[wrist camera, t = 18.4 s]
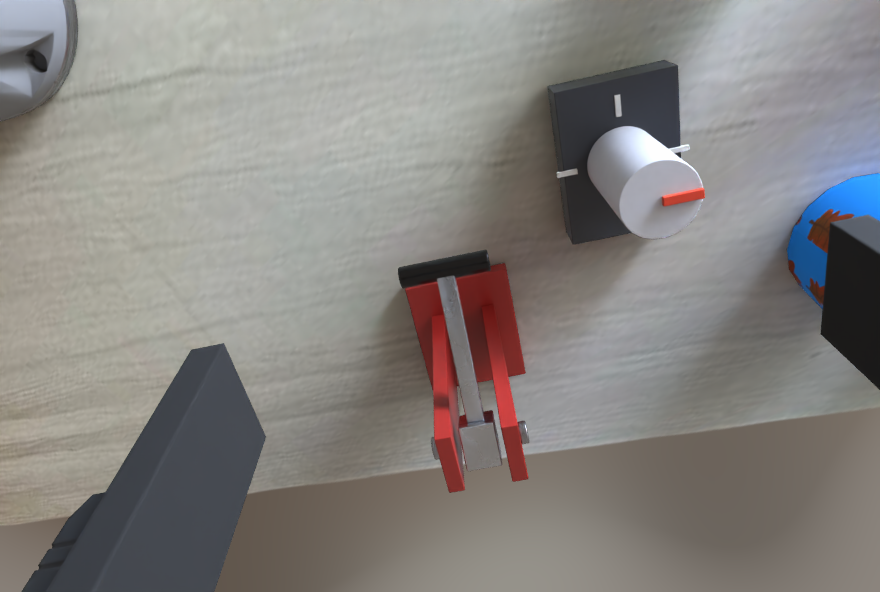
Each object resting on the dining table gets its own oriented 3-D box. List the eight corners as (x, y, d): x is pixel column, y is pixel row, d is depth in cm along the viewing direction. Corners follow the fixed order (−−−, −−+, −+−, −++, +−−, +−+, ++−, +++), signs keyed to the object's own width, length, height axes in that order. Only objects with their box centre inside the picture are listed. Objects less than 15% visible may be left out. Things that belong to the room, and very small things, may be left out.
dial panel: (540, 87, 43) (546, 95, 41) (672, 58, 42) (686, 63, 40) (559, 233, 48) (566, 247, 46) (677, 209, 47) (691, 222, 45)
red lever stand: (405, 282, 50) (397, 407, 36) (504, 262, 49) (536, 381, 35) (432, 383, 54) (435, 528, 40) (523, 365, 54) (558, 507, 40)
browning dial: (590, 201, 44) (623, 248, 37) (583, 134, 42) (617, 171, 35) (659, 186, 44) (706, 232, 36) (655, 118, 42) (704, 152, 34)
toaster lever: (400, 265, 39) (395, 269, 37) (486, 248, 39) (487, 250, 36) (442, 460, 41) (440, 476, 39) (526, 446, 40) (529, 460, 38)
